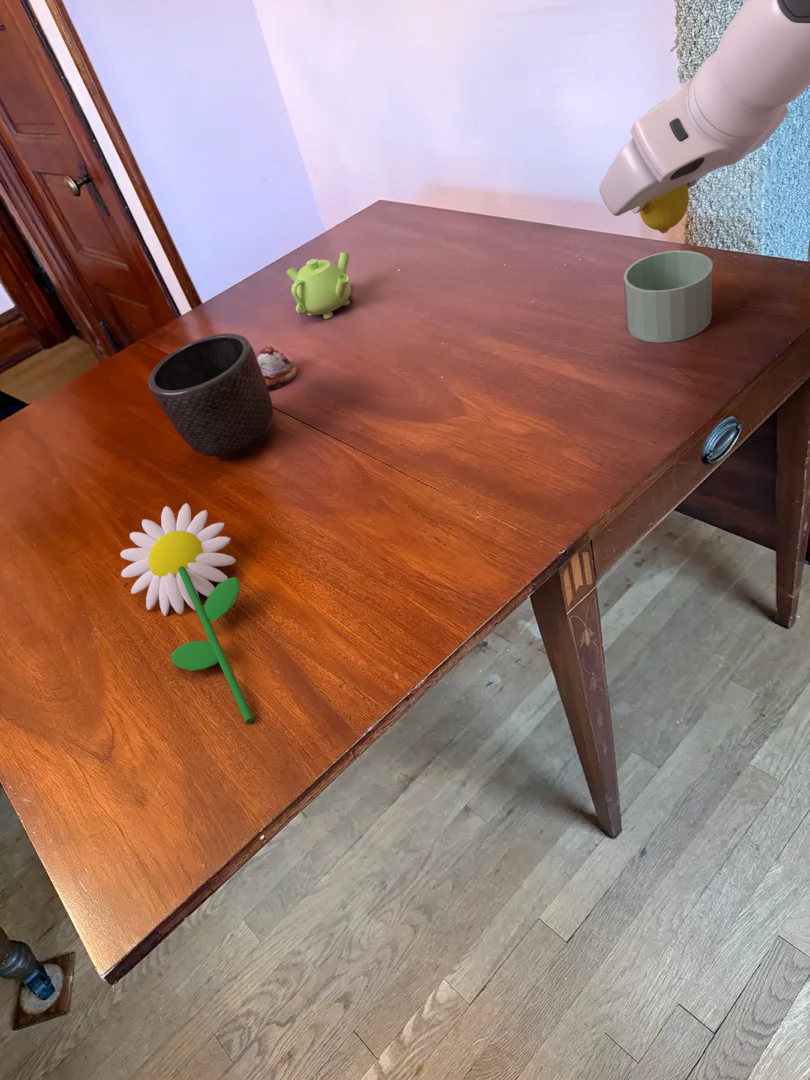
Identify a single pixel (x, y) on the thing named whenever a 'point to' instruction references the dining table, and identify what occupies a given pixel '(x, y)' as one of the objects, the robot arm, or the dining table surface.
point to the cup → (668, 296)
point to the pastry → (275, 368)
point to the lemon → (666, 209)
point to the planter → (215, 395)
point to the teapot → (321, 286)
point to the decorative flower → (187, 583)
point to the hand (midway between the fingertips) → (659, 195)
